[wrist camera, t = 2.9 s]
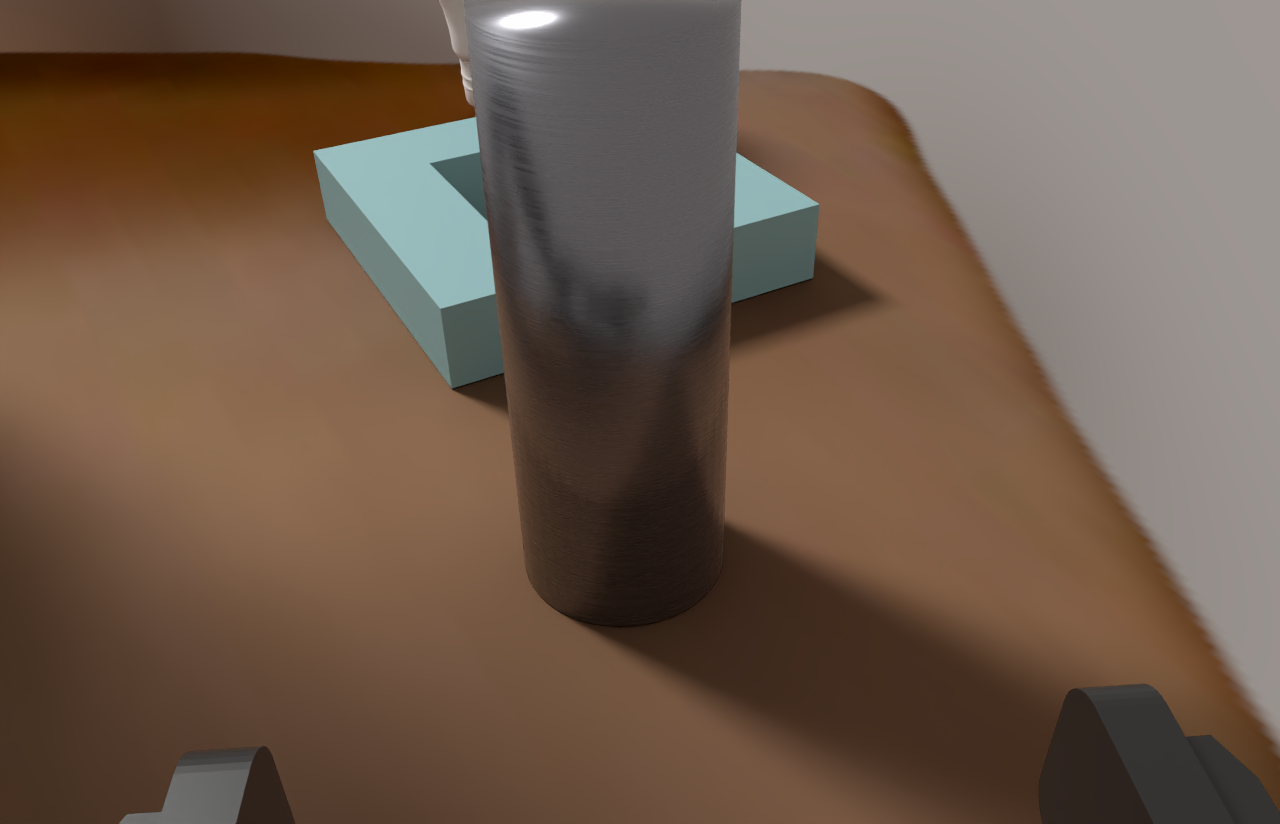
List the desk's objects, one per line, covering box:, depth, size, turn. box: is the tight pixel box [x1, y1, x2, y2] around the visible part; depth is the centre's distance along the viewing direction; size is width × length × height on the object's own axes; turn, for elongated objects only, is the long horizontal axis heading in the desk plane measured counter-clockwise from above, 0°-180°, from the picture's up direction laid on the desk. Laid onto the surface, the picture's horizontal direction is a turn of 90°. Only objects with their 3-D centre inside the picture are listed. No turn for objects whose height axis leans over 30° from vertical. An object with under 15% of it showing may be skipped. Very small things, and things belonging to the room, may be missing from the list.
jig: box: [313, 117, 819, 388], centre depth 36 cm, size 12×12×2 cm
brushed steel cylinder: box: [463, 0, 741, 626], centre depth 21 cm, size 4×4×12 cm
